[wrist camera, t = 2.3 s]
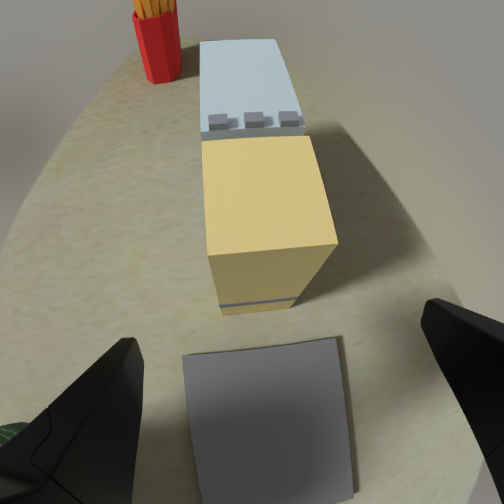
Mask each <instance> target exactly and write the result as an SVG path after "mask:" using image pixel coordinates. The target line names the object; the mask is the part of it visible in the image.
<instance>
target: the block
mask: <svg viewBox="0 0 504 504" xmlns="http://www.w3.org/2000/svg"><path fill="white" fill-rule="evenodd" d="M202 161H203V184H204V204H205V222H206V238H207V252H208V259H209V263H210V267H211V272H212V276H213V280H214V284H215V288H216V292H217V296H218V300H219V306H220V308H221V312H222V316H223V315H233V314H243V313H253V312H262V311H271V310H279V309H288V308H290V307H291V305H292V304H293V303H294V302H295V300H297V299H298V297H299V295H300V294H301V293H302V291H303V290H304V289H305V287H306V286H307V285H308V283H309V282H310V281H311V280H312V278H313V277H314V276H315V274H316V273H317V272H318V270H319V269H320V268H321V266H322V265H323V264H324V262H325V261H326V260H327V258H328V257H329V256H330V254H331V253H332V251H333V250H334V249H335V247H336V246H337V245H338V240H337V236H336V232H335V228H334V223H333V219H332V215H331V211H330V208H329V204H328V200H327V196H326V192H325V189H324V185H323V181H322V178H321V174H320V171H319V167H318V164H317V160H316V157H315V153H314V150H313V147H312V143H311V140H310V137H309V136H277V137H254V138H237V139H223V140H211V141H202Z"/></svg>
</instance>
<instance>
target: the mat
mask: <svg viewBox="0 0 504 504" xmlns="http://www.w3.org/2000/svg"><path fill="white" fill-rule="evenodd" d="M182 361H183V372H184V382H185V391H186V400H187V408H188V416H189V424H190V431H191V438H192V445H193V452H194V458H195V465H196V471H197V477H198V482H199V488H200V493H201V499H202V504H334V503H338V502H342V501H346V500H349V499H353V498H354V494H353V479H352V466H351V455H350V444H349V434H348V425H347V416H346V407H345V399H344V391H343V384H342V376H341V369H340V362H339V355H338V349H337V342H336V338H330V339H324V340H318V341H312V342H305V343H299V344H292V345H285V346H277V347H269V348H261V349H252V350H243V351H233V352H223V353H211V354H198V355H183V356H182Z"/></svg>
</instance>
